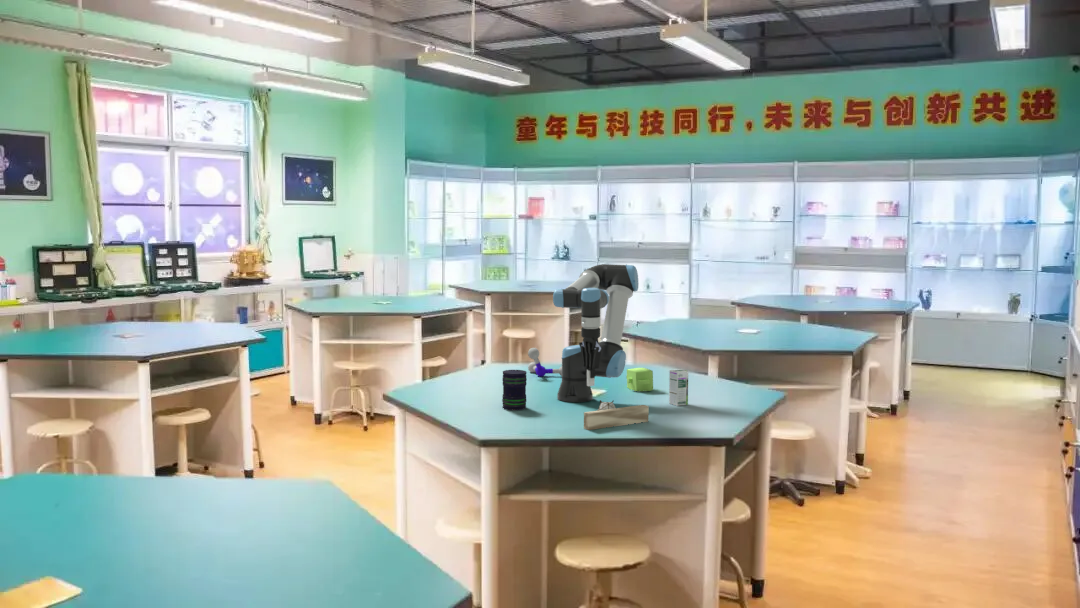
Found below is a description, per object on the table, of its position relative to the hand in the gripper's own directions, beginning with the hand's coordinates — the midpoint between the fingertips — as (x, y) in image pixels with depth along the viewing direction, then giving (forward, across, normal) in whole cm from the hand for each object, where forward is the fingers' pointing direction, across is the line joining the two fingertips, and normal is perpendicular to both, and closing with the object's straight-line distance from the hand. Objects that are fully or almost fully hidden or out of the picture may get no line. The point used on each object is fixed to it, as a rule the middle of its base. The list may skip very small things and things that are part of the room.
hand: (590, 385), depth 347 cm
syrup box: (+12, +6, +41) cm, 43 cm away
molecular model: (+15, -80, +31) cm, 87 cm away
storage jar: (+11, -21, -23) cm, 33 cm away
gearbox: (+14, -29, +47) cm, 57 cm away
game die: (+10, +17, -5) cm, 21 cm away
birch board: (+10, +24, -5) cm, 26 cm away
